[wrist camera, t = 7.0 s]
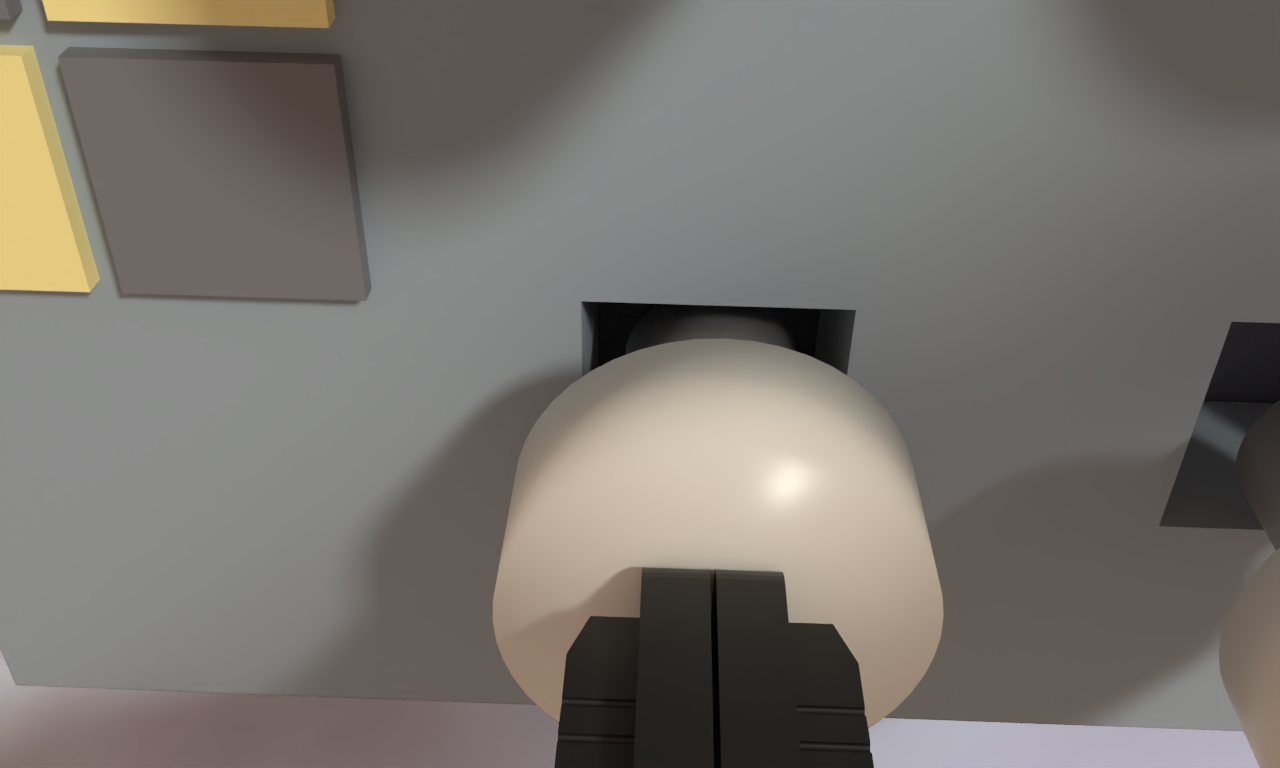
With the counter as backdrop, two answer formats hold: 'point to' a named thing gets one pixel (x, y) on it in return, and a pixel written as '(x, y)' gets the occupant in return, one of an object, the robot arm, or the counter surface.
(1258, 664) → the button
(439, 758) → the counter surface
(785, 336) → the button
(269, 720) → the counter surface
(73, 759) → the counter surface
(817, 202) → the board
